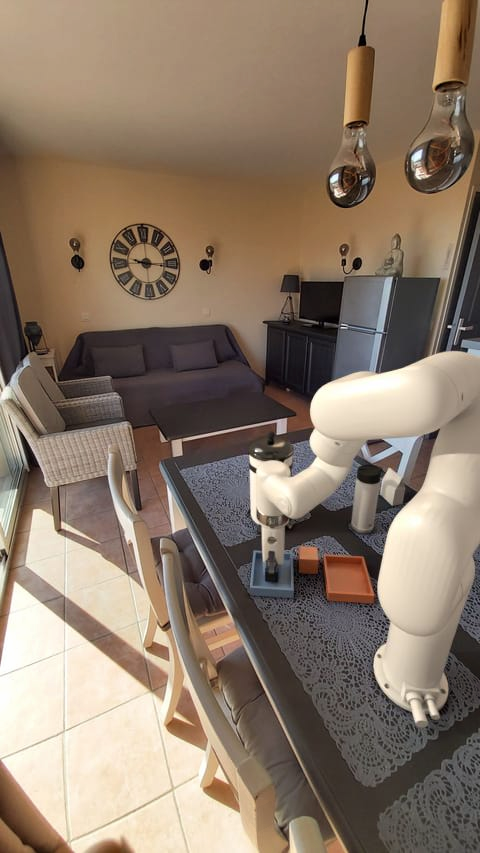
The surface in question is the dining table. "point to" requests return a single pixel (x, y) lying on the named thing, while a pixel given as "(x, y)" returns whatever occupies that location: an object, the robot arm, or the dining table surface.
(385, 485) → the white gabled block
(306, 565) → the terracotta block
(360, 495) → the travel mug
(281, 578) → the blue tray
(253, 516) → the coffee press
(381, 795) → the dining table surface
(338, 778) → the dining table surface
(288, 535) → the dining table surface
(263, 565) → the blue cylinder
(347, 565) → the terracotta tray
